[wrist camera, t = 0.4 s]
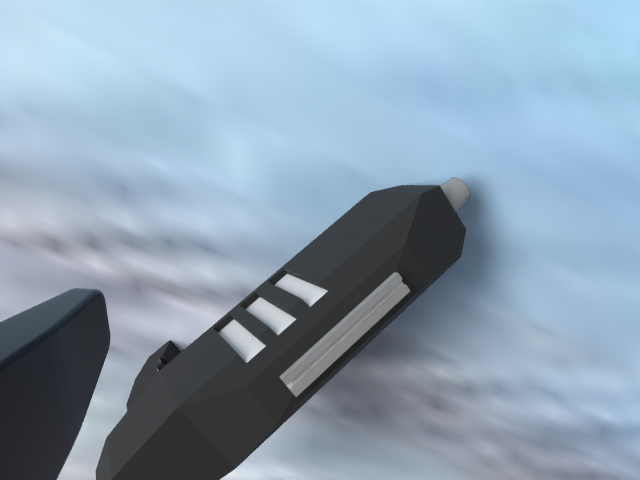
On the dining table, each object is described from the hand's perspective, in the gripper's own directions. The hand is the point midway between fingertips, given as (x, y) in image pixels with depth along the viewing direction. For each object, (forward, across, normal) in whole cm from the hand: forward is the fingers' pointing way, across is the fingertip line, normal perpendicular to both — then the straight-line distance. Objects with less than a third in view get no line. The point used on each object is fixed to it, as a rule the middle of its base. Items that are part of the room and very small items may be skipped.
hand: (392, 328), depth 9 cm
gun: (+14, +2, +7) cm, 16 cm away
